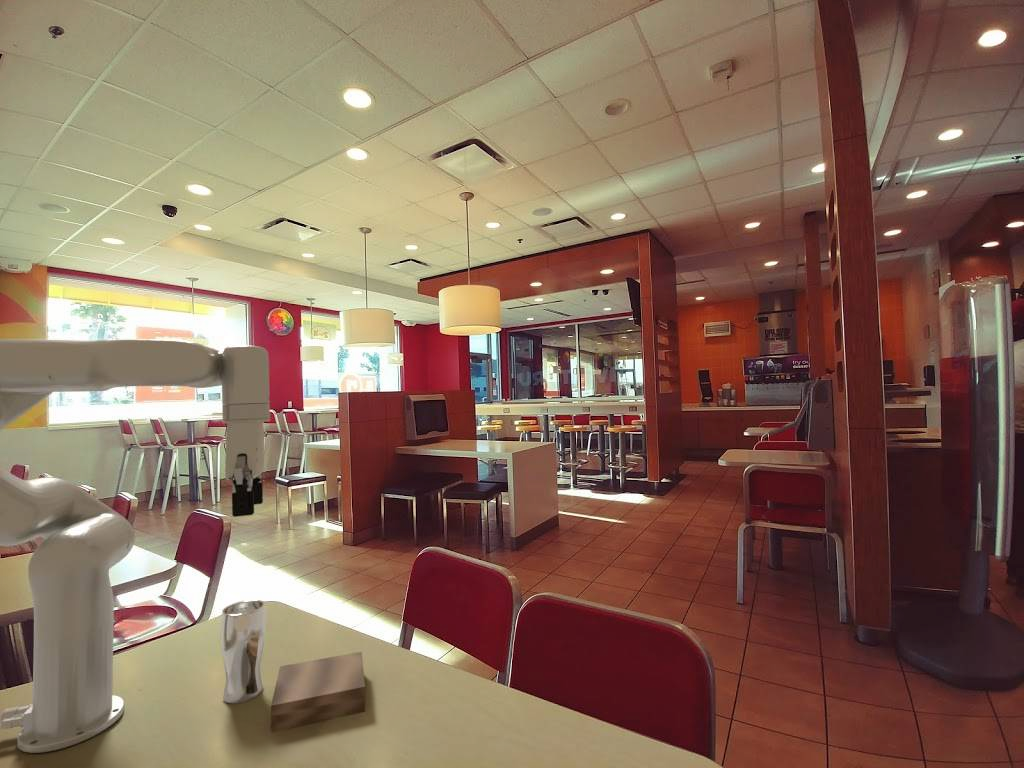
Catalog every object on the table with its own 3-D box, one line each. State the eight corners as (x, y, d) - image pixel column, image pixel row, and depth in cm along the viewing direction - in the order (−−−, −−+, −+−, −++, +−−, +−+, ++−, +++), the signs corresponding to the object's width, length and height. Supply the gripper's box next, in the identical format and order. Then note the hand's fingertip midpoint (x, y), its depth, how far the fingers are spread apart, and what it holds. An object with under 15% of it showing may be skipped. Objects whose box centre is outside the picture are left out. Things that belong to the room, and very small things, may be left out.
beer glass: (273, 682, 88) (273, 599, 89) (249, 706, 81) (249, 616, 82) (237, 681, 89) (238, 598, 89) (210, 704, 82) (211, 615, 82)
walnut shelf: (270, 732, 75) (271, 705, 75) (280, 689, 86) (280, 666, 86) (365, 711, 80) (364, 686, 80) (361, 673, 91) (361, 651, 91)
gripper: (233, 414, 94) (234, 502, 93) (210, 416, 78) (212, 523, 77) (275, 412, 96) (277, 498, 96) (262, 414, 80) (264, 517, 80)
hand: (248, 509), depth 86 cm, fingers open, 9 cm apart
